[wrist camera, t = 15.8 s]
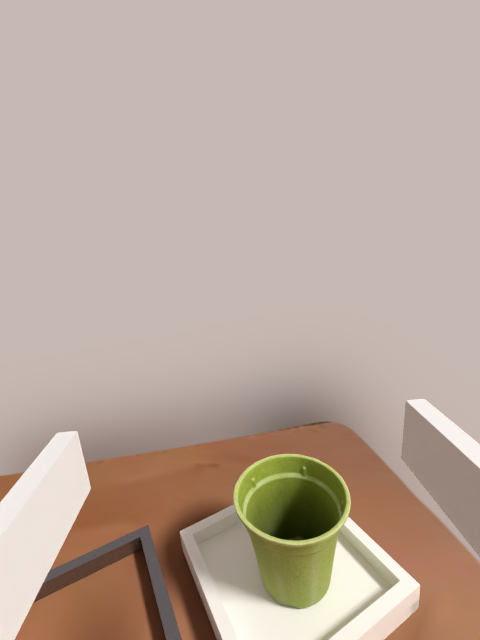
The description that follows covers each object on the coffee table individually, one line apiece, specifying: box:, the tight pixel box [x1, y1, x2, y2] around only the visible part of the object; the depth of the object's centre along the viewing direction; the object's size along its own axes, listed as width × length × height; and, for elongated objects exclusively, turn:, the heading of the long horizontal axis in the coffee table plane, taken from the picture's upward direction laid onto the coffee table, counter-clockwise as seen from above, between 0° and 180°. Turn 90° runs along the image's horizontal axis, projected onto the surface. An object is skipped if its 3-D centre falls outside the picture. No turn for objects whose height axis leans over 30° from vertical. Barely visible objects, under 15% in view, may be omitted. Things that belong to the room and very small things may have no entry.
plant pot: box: [233, 454, 351, 608], centre depth 27 cm, size 9×9×9 cm
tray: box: [180, 505, 420, 640], centre depth 29 cm, size 15×15×2 cm
